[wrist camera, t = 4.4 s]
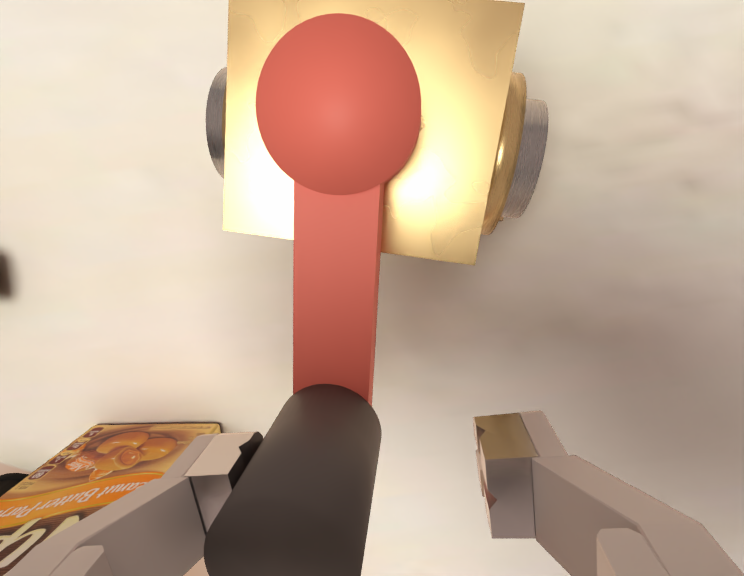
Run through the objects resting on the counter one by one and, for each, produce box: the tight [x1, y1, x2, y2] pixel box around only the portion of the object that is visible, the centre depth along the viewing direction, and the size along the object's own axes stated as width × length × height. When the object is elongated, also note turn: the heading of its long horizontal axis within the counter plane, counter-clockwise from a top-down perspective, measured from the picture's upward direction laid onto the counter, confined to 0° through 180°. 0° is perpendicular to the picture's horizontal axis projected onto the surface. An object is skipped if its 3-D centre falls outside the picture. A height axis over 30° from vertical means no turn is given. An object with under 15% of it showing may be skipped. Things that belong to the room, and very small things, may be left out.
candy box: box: [0, 424, 221, 576], centre depth 19 cm, size 9×4×15 cm, turn 95°
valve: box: [206, 0, 548, 265], centre depth 15 cm, size 12×7×10 cm, turn 83°
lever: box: [204, 13, 421, 576], centre depth 9 cm, size 4×11×5 cm, turn 177°
